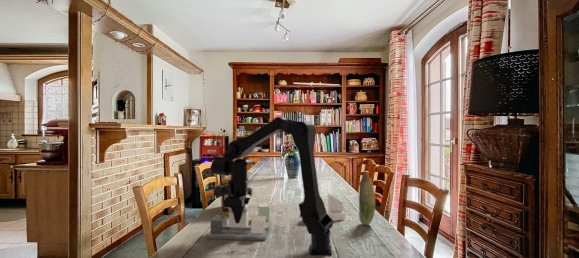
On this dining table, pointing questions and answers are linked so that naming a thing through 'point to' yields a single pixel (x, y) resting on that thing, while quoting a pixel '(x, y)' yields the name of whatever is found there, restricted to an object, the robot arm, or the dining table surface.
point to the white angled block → (335, 209)
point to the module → (243, 221)
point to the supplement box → (223, 182)
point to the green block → (263, 210)
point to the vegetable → (366, 200)
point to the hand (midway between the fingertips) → (238, 221)
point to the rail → (238, 229)
